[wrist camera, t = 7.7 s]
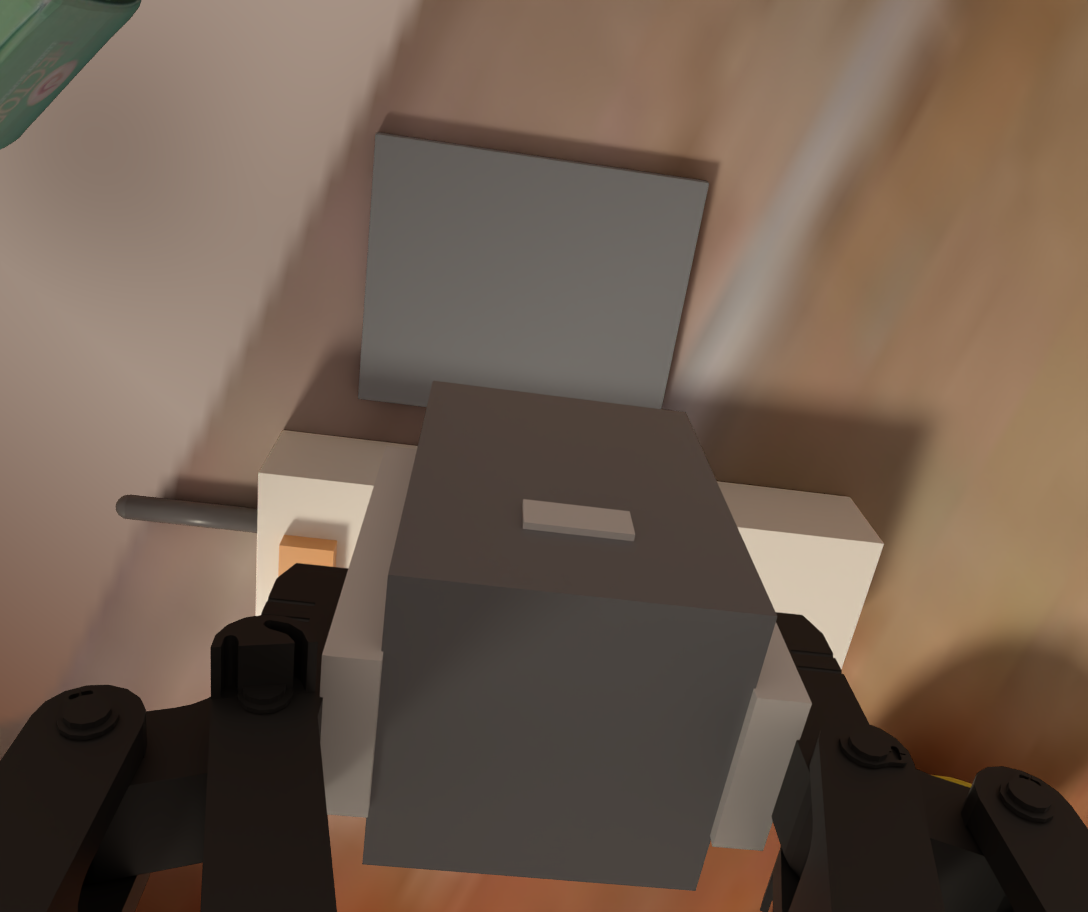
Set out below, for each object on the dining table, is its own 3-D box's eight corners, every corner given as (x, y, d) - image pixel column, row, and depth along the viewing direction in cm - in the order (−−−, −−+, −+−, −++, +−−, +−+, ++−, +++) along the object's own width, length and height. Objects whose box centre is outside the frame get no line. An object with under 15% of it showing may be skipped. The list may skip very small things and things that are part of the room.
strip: (126, 579, 40) (79, 646, 36) (117, 410, 37) (65, 461, 33) (801, 649, 43) (834, 718, 39) (849, 496, 40) (891, 554, 35)
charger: (418, 555, 21) (362, 863, 14) (440, 347, 19) (388, 567, 11) (629, 578, 22) (695, 890, 14) (672, 377, 20) (779, 609, 12)
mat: (360, 393, 37) (357, 398, 36) (377, 132, 33) (375, 134, 32) (653, 429, 38) (655, 435, 37) (705, 180, 34) (709, 183, 33)
